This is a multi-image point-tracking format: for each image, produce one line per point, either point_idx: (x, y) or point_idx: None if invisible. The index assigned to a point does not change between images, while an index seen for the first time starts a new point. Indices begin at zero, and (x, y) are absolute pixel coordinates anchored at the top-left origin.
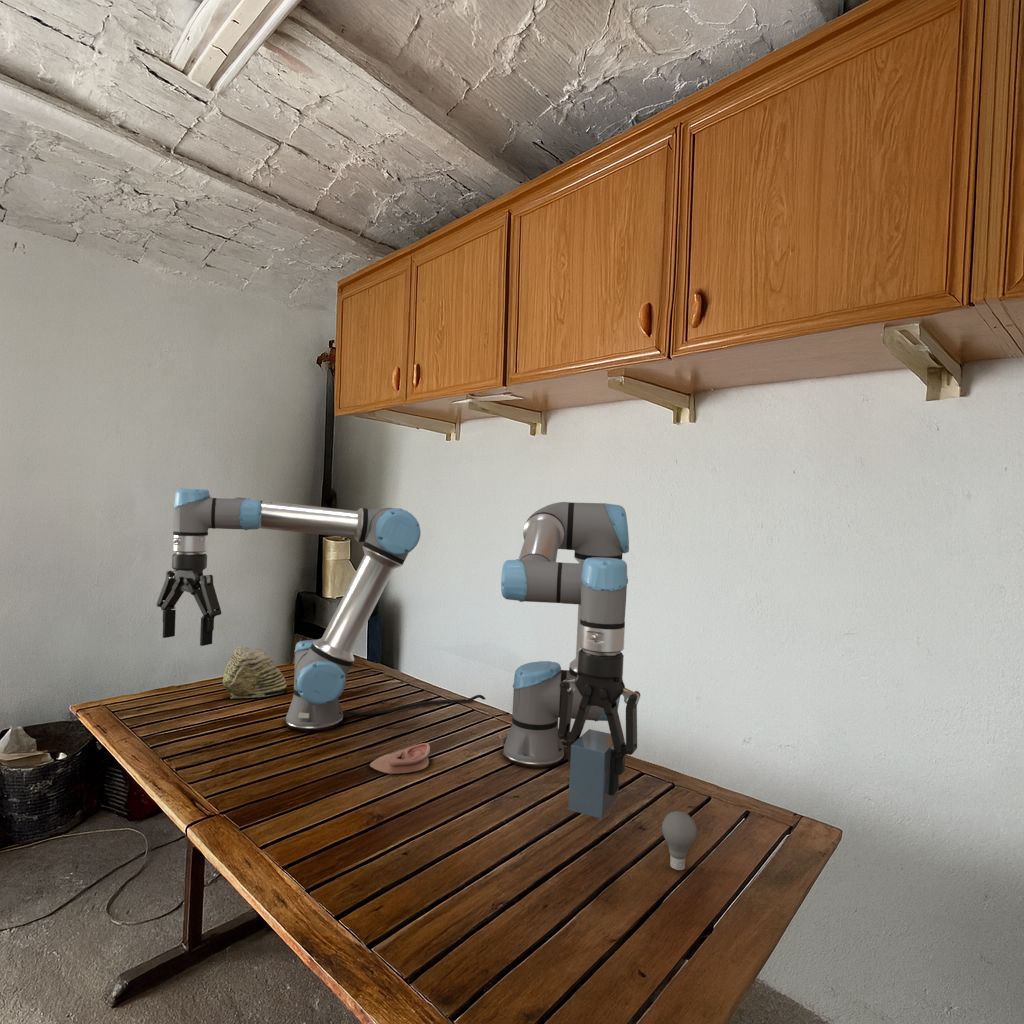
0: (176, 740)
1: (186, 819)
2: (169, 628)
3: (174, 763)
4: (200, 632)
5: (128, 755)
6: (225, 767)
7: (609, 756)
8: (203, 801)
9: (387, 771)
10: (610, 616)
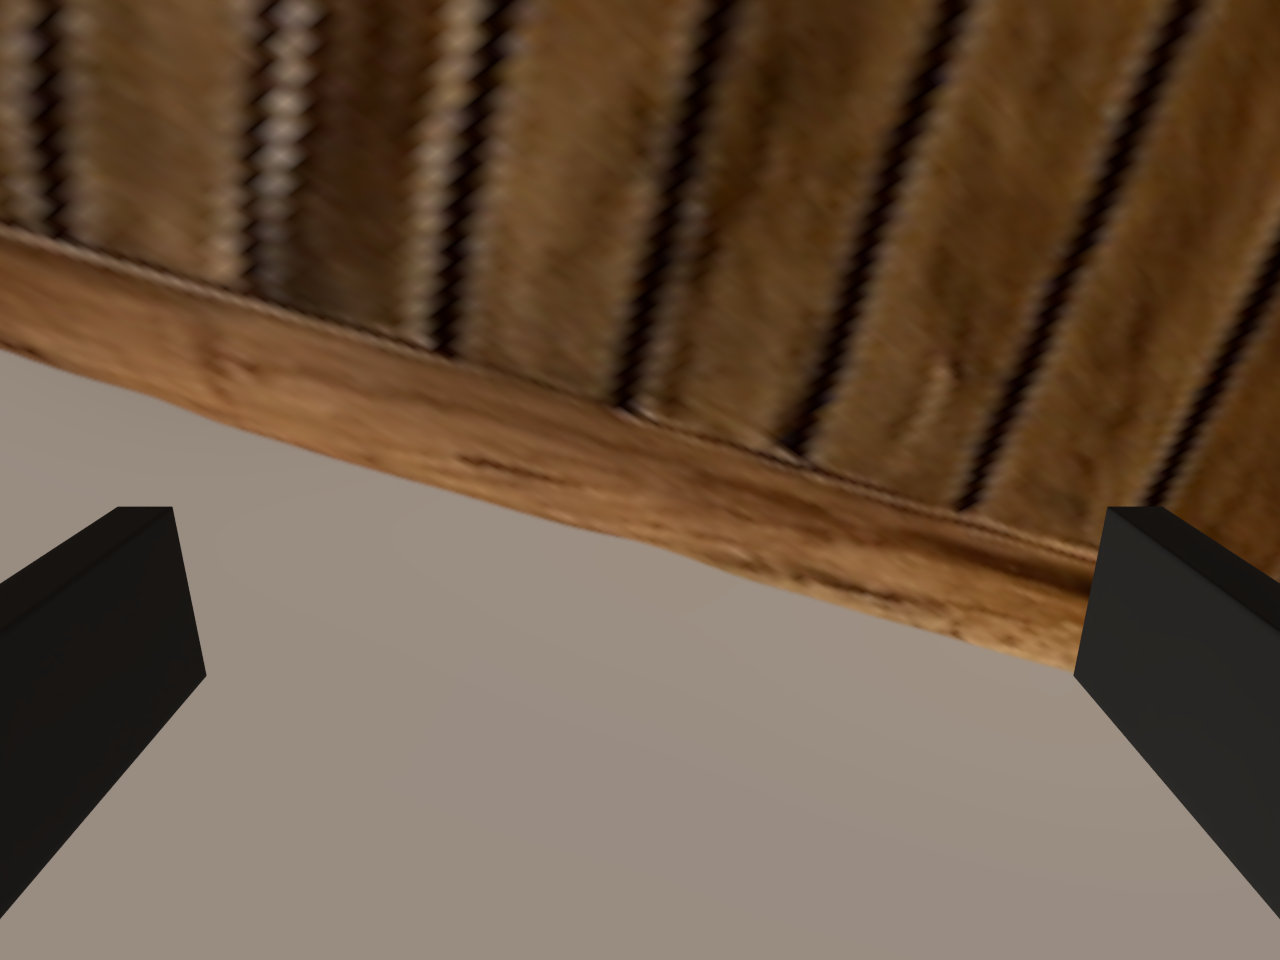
0: (451, 210)
1: None
2: (106, 689)
3: (723, 413)
4: (1198, 822)
5: (451, 470)
6: (984, 311)
7: None
8: None
9: None
10: None
